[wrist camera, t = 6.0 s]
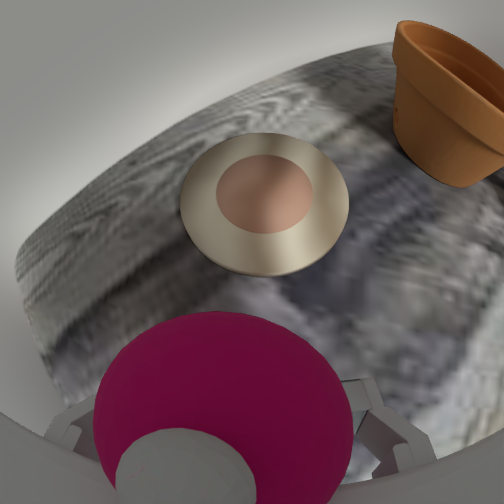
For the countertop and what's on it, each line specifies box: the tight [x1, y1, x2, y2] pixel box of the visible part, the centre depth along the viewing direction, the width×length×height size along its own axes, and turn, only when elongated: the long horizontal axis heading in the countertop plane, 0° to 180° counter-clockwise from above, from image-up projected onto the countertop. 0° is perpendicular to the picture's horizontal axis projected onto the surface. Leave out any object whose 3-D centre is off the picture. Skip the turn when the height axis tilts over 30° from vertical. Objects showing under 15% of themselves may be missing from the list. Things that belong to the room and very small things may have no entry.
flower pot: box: [392, 20, 504, 188], centre depth 23 cm, size 21×21×15 cm
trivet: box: [180, 133, 349, 277], centre depth 26 cm, size 16×16×1 cm
